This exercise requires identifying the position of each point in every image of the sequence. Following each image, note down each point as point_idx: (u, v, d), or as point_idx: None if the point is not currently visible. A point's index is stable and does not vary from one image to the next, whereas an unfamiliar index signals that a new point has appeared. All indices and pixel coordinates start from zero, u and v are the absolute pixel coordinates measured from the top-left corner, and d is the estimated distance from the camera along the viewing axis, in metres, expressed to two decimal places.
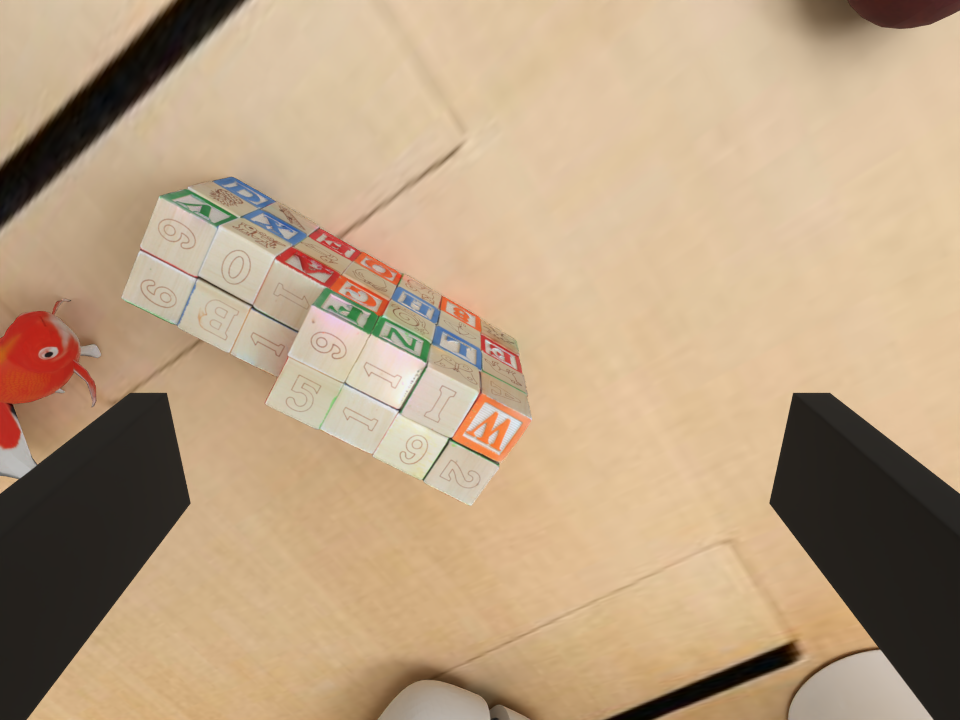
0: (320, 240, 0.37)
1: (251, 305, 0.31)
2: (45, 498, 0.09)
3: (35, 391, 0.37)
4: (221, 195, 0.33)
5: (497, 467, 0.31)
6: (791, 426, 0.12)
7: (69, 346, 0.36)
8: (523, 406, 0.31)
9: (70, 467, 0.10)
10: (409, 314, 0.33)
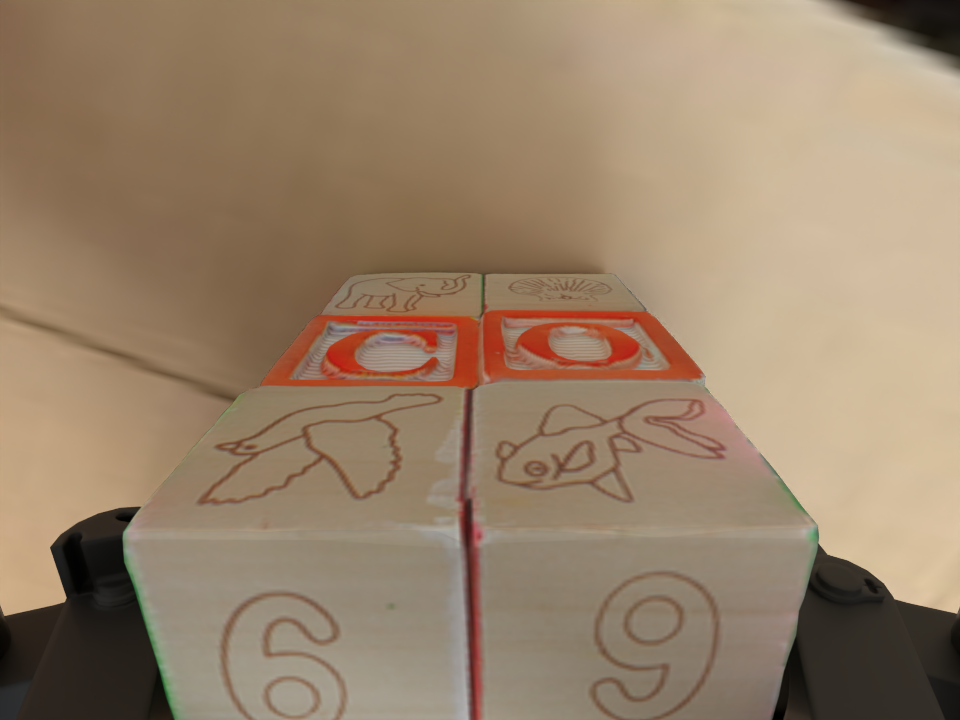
0: None
1: None
2: None
3: None
4: None
5: None
6: None
7: None
8: None
9: None
10: None
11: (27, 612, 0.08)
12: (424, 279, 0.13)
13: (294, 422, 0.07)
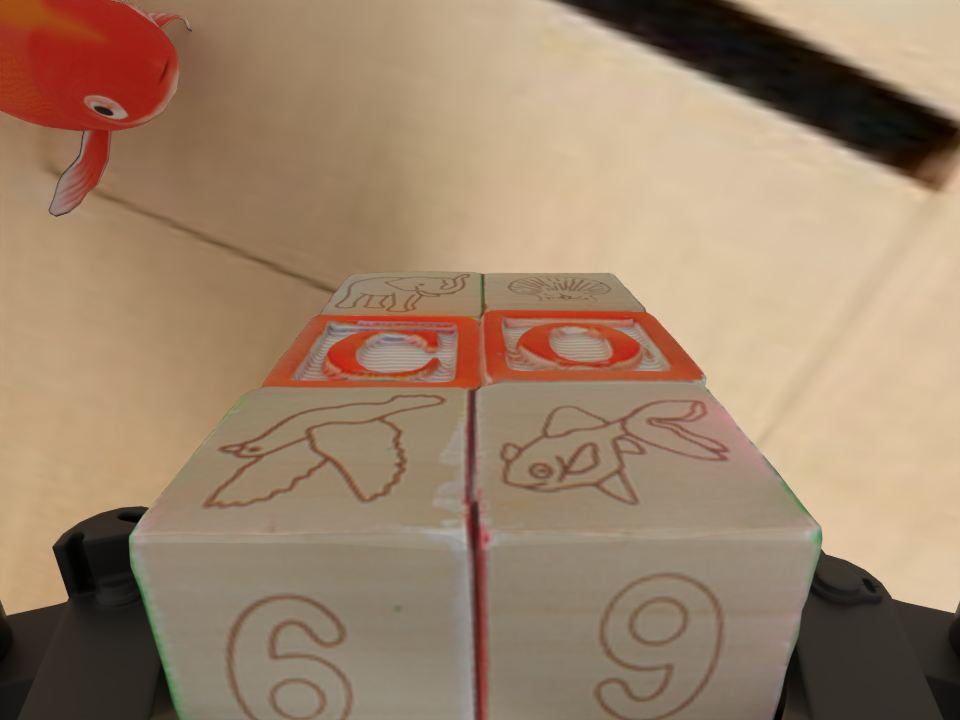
0: None
1: None
2: None
3: None
4: None
5: None
6: None
7: (139, 124, 0.17)
8: None
9: None
10: None
11: (29, 612, 0.08)
12: (423, 278, 0.13)
13: (298, 423, 0.07)
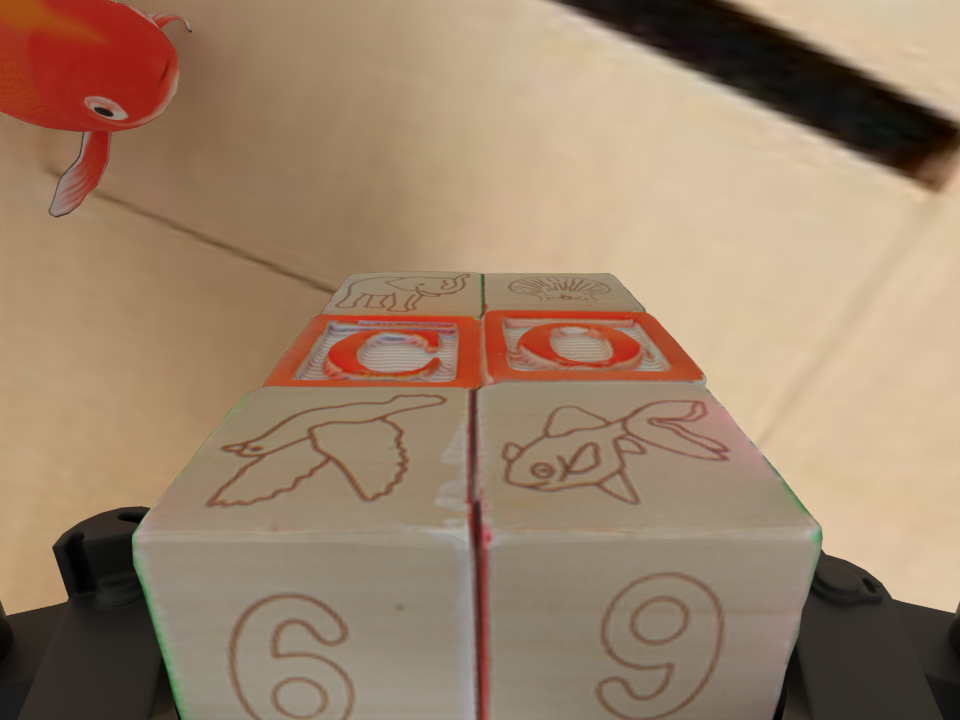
0: None
1: None
2: None
3: None
4: None
5: None
6: None
7: (139, 125, 0.17)
8: None
9: None
10: None
11: (29, 612, 0.08)
12: (424, 278, 0.13)
13: (299, 423, 0.07)
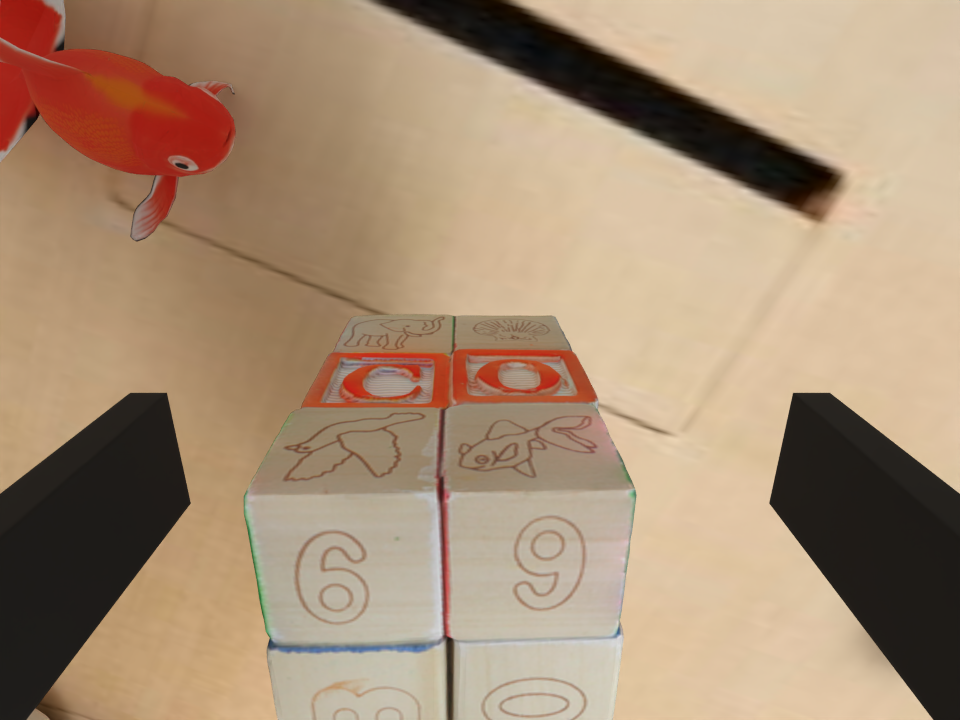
0: None
1: None
2: (44, 498, 0.09)
3: (97, 154, 0.22)
4: None
5: None
6: (791, 426, 0.12)
7: (203, 173, 0.23)
8: None
9: (70, 467, 0.10)
10: None
11: None
12: (409, 320, 0.17)
13: (331, 432, 0.11)
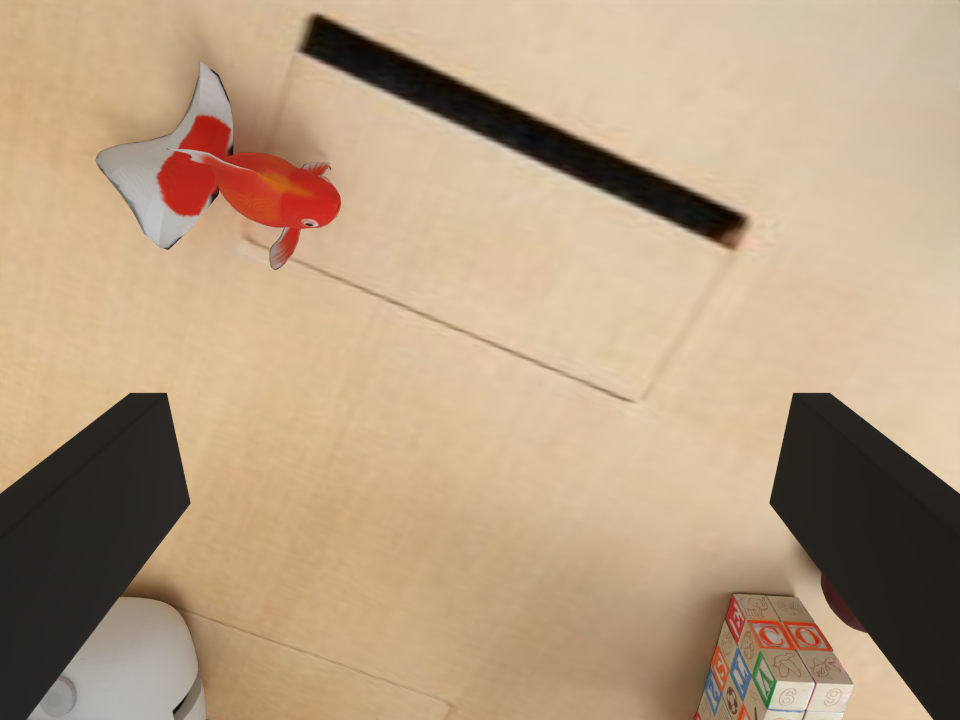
0: None
1: None
2: (45, 498, 0.09)
3: (255, 217, 0.36)
4: None
5: None
6: (791, 426, 0.12)
7: None
8: None
9: (70, 467, 0.10)
10: None
11: None
12: (754, 599, 0.53)
13: (777, 660, 0.47)
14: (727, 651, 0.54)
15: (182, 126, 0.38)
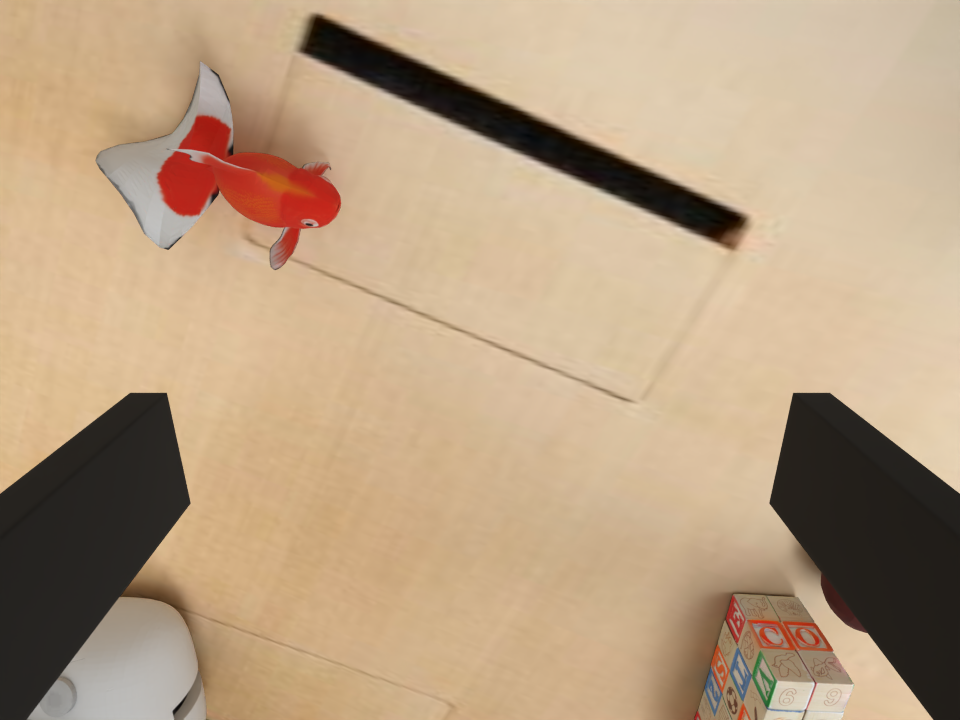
0: None
1: None
2: (45, 498, 0.09)
3: (255, 217, 0.36)
4: None
5: None
6: (791, 426, 0.12)
7: None
8: None
9: (70, 467, 0.10)
10: None
11: None
12: (754, 599, 0.53)
13: (777, 659, 0.47)
14: (727, 651, 0.54)
15: (182, 126, 0.38)
